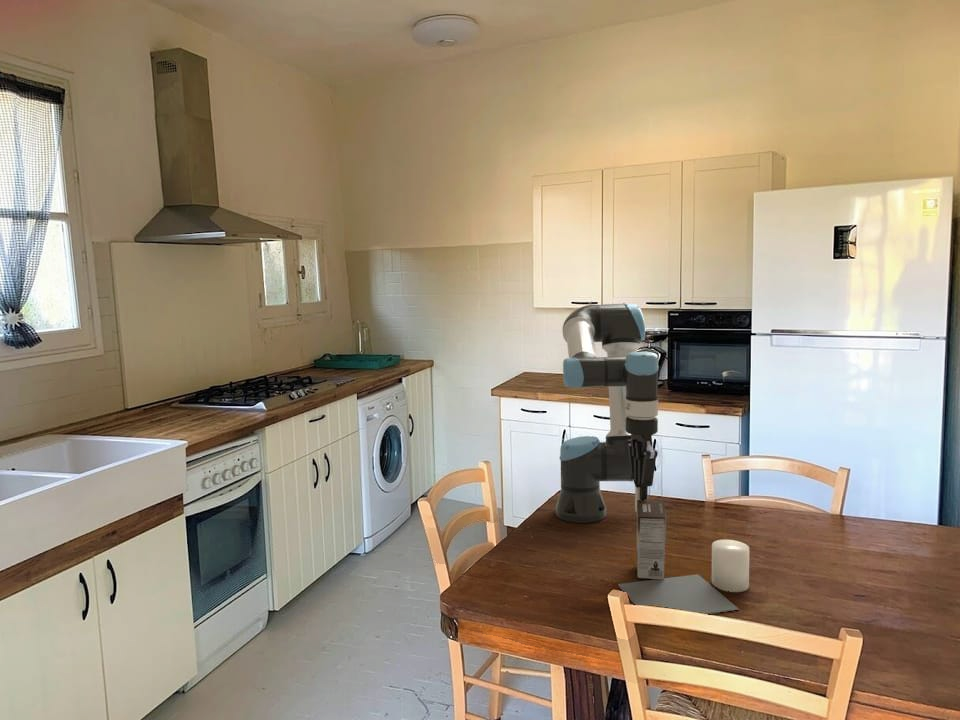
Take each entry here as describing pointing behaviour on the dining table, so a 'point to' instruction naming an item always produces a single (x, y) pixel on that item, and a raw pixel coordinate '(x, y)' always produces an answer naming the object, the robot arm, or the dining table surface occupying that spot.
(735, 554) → the white rounded cylinder
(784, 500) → the dining table surface
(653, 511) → the coffee box
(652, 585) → the mat
